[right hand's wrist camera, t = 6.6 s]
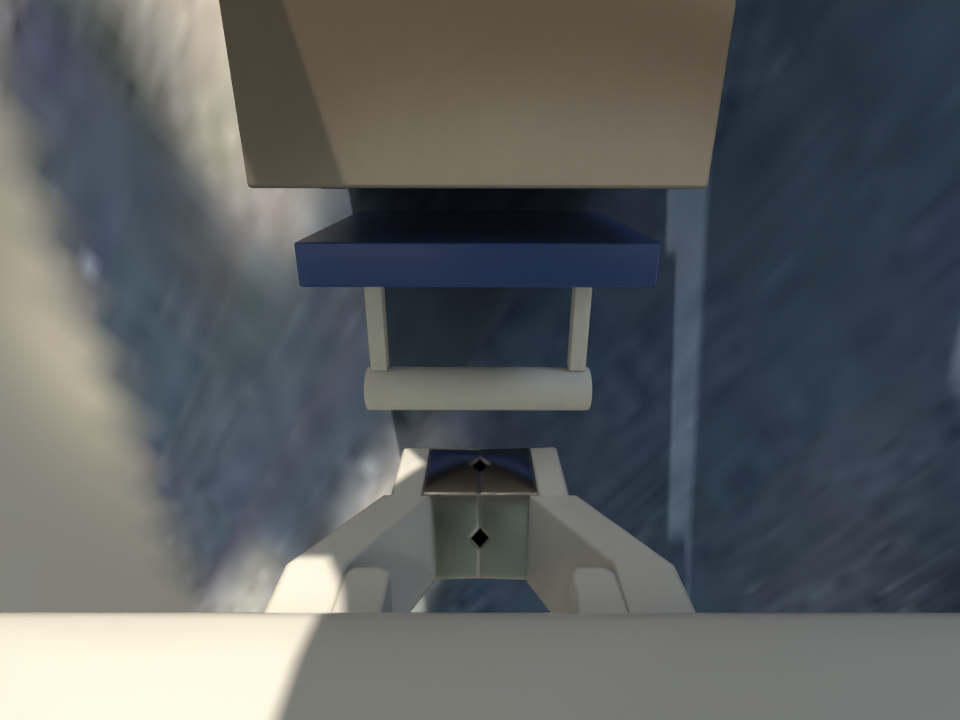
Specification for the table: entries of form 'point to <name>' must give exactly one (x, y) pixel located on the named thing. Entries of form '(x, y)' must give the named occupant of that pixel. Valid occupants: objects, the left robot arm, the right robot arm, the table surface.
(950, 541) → the table surface
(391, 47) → the cabinet
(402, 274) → the drawer
